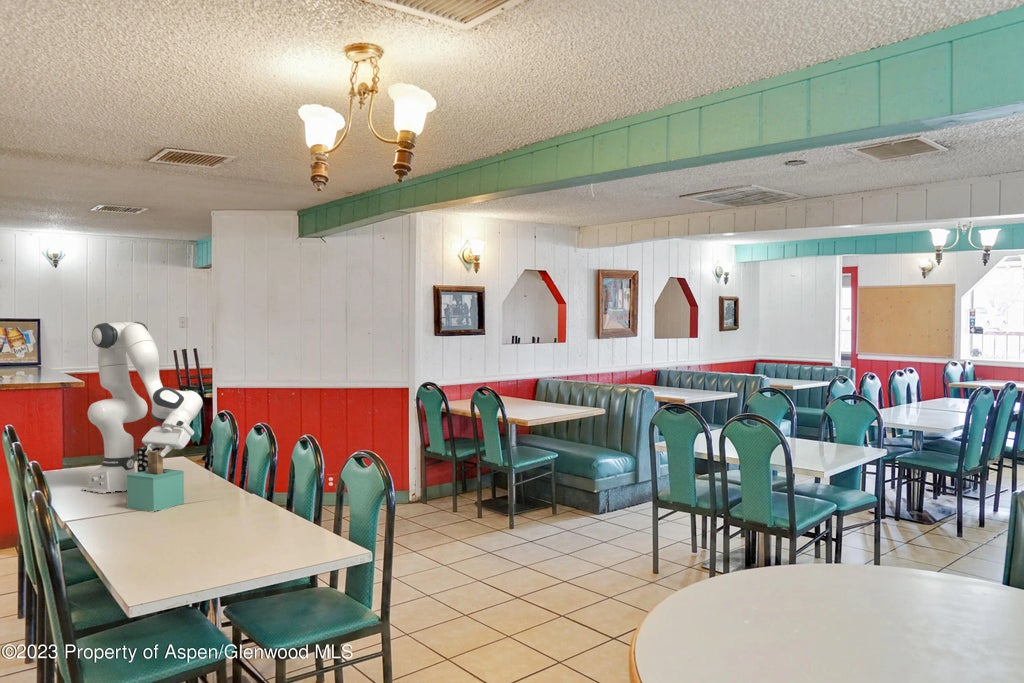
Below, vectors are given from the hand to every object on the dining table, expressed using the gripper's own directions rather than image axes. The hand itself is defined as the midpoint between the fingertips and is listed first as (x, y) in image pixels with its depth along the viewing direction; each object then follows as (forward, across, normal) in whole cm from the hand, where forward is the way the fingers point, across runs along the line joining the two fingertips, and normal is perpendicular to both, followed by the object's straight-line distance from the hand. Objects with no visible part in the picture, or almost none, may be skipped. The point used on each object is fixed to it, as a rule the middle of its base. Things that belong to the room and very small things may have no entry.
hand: (153, 455), depth 283 cm
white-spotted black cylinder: (+6, -16, +22) cm, 28 cm away
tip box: (+14, 0, +14) cm, 20 cm away
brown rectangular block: (+5, 0, +6) cm, 8 cm away
